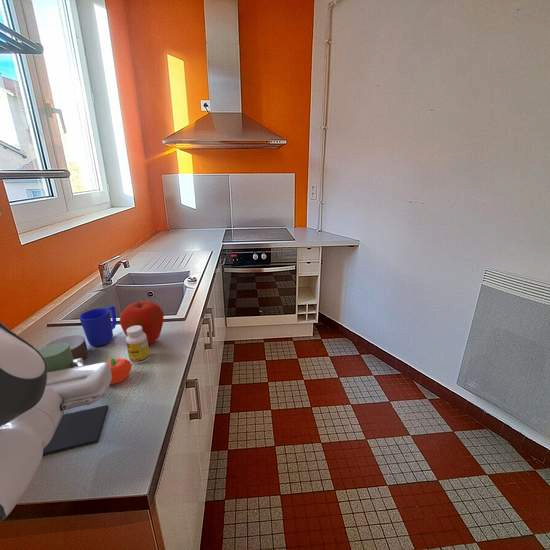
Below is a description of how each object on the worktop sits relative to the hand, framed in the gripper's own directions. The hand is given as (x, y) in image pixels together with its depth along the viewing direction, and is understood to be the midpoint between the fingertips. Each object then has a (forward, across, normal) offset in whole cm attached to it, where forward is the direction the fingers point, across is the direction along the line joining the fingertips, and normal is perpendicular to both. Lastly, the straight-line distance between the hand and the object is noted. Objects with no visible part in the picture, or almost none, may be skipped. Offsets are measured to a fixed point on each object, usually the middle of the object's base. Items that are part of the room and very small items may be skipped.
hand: (59, 365), depth 59 cm
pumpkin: (+14, -5, +15) cm, 21 cm away
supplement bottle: (+22, -10, +15) cm, 29 cm away
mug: (+38, +2, +15) cm, 41 cm away
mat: (-1, 0, +15) cm, 15 cm away
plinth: (+29, +10, +15) cm, 34 cm away
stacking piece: (-1, 0, +5) cm, 5 cm away
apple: (+31, -11, +15) cm, 36 cm away
